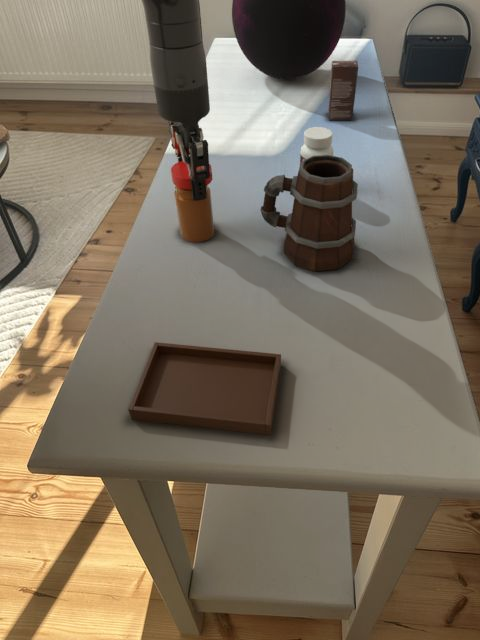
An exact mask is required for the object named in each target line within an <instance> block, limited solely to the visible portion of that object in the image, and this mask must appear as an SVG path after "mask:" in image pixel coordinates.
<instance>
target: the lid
mask: <svg viewBox="0 0 480 640" xmlns="http://www.w3.org/2000/svg"><path fill="white" fill-rule="evenodd" d="M197 170H201V168H200V167H197ZM209 171H210V178H209V179H205V183H206V186H207V185H208V186H209V185H210V184H211V183H212V181H213V170H212V165H211V163H209ZM170 175H171V181H172V183H173V185H174V186H175V185H176V186H177V187H179V188H182V189H191V182H190V178H189V172H188V167H187V165H186V164H184V163H183V161H180V162H178V161H177V162H176V163H174V164H173V165H172V166H171V168H170Z"/></svg>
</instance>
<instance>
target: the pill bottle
mask: <svg viewBox="0 0 480 640" xmlns="http://www.w3.org/2000/svg"><path fill="white" fill-rule="evenodd" d="M332 144H333V132H332V130H330V129H329V128H328V127H327V128H326V127H323V126H322V127H321V126H314V127H313V126H312V127H309V128H307V129H306V130H304V133H303V144H302V146H301V148H300V153H299V166H300V165H301V163H302V161H304V160H306V159H308V158H310V157H312V156H318V155H332V156H334V148H333V146H332Z"/></svg>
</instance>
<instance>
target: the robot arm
mask: <svg viewBox="0 0 480 640" xmlns="http://www.w3.org/2000/svg"><path fill="white" fill-rule="evenodd" d="M141 3H142V6H143V11H144V19H145V22H146V30H147V36H148V43H149V62H150V69H151V76H152V82H153V88H154V95H155V100H156V108H157V112H158V113H157V114H158V115H159V117H160V118H161V119H163V120H165V121H167V122H168V128H169V133H170V134H169V135H170V140H171V147H172V149H173V150H174V155H175V156H176V158H177V163H178V162H180V161H183V163H184V164H186V165H187V167H188V172H189V178H190V182H191V191H192V197H193V199H194V200H195V201H199V200H204V199H206V197H207V193H206V183H205V179H209V178H210V171H209V164H210V156H209V142H208V140H207V139H205V138H204V132H203V129H202V127H200V125H199V122H200V121H201V120H202V119H203V118H206V117H207V116H208V115H209V113H210V111H211V107H210V106H211V105H210V94H209V93H210V91H209V81H208V80H209V78H208V67H207V58H206V52H205V48H204V41H203V28H202V17H201V16H202V15H201V5H200V0H141ZM197 167H200V168H201V170H197Z"/></svg>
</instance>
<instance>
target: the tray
mask: <svg viewBox="0 0 480 640" xmlns="http://www.w3.org/2000/svg"><path fill="white" fill-rule="evenodd" d="M281 366H282V354H281V353H270V352H260V351H251V350H240V349H239V350H238V349H230V348H219V347H208V346H199V345H188V344H177V343H168V342H167V343H166V342H158V341H155V342H154V343H153V346H152V348H151V351H150V353H149V356H148V358H147V361H146V363H145V366H144V369H143V370H142V373H141V376H140V378H139V381H138V383H137V385H136V388H135V390H134V393H133V396H132V398H131V400H130V403H129V406H128V409H127V410H128V413H129V416H130V419H131V420H134V421H135V420H136V421H142V422H153V423H162V424H169V425H179V426H187V427H198V428H205V429H206V428H207V429H213V430H223V431H233V432H240V433H241V432H242V433H250V434H259V435H267V436H271V433H272V426H273V420H274V414H275V408H276V407H275V406H276V400H277V394H278V388H279V387H278V386H279V379H280V374H281V373H280V372H281V368H282V367H281Z"/></svg>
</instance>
